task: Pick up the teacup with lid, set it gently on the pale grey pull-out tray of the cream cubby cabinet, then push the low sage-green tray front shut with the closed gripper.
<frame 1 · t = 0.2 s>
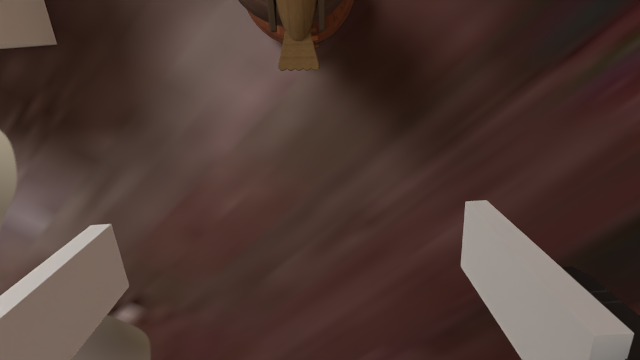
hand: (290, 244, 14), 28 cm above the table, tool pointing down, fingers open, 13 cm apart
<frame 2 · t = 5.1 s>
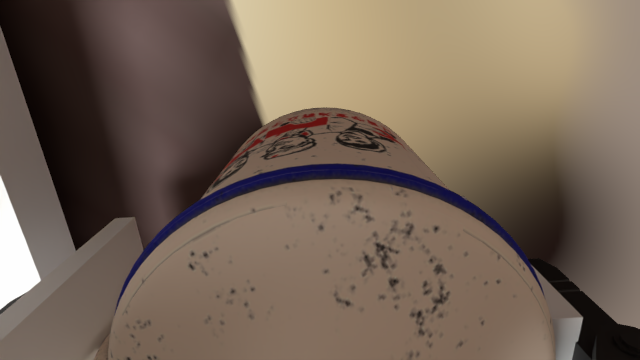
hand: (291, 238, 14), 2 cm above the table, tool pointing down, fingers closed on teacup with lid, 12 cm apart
teacup with lid: (293, 216, 16), on the table, touching gripper
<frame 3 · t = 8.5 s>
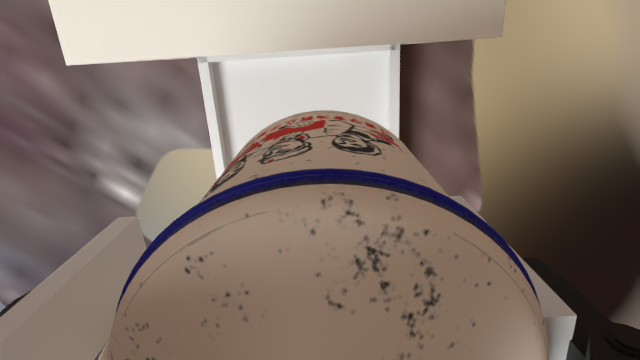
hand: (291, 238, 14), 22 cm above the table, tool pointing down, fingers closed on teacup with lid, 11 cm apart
tray: (308, 187, 33), point 4 cm above the table, slide at 14.0 cm
teacup with lid: (294, 217, 16), point 20 cm above the table, touching gripper
when the fingers open (5 cm above the table, at t = 12.4 s): teacup with lid drops 1 cm, resting on tray.
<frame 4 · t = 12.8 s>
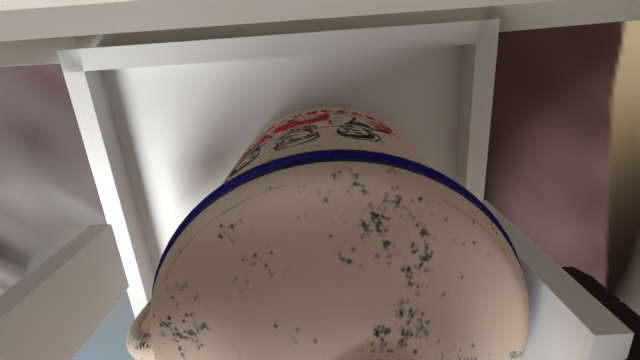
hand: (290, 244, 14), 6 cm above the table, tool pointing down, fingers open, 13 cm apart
tray: (302, 311, 17), point 4 cm above the table, slide at 14.0 cm, touching teacup with lid
teacup with lid: (300, 207, 17), point 2 cm above the table, touching tray
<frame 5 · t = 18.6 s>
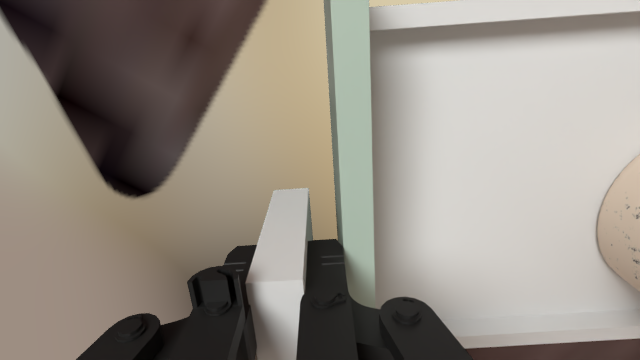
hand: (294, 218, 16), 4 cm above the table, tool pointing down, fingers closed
tray: (620, 200, 15), point 4 cm above the table, slide at 13.2 cm, touching gripper, teacup with lid
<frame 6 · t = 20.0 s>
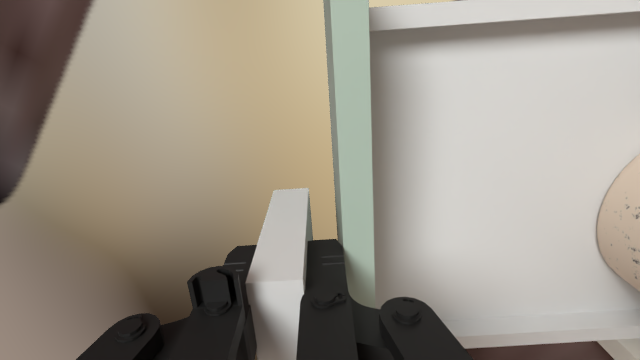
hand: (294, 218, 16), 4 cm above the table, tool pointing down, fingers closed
tray: (620, 200, 15), point 4 cm above the table, slide at 5.1 cm, touching gripper, teacup with lid
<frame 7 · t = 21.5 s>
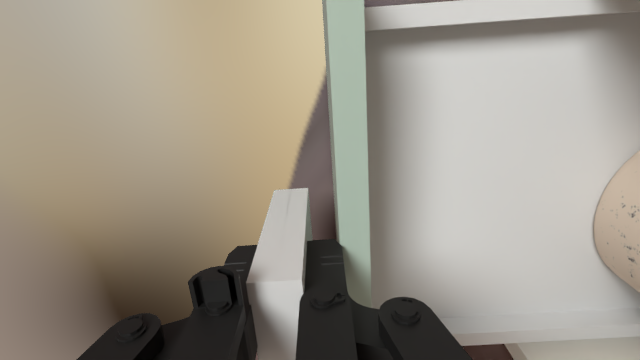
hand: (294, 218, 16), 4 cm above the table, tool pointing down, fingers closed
tray: (616, 199, 16), point 4 cm above the table, slide at 0.0 cm, touching gripper, teacup with lid
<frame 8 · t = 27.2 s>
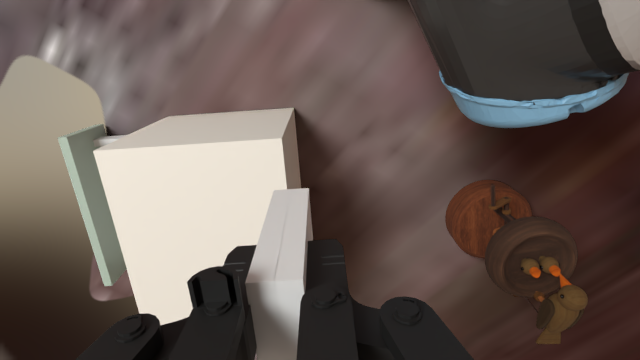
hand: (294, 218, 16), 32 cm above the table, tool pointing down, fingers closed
housing: (242, 185, 50), on the table
tray: (192, 199, 46), point 4 cm above the table, slide at 0.0 cm, touching teacup with lid
bird nest figurine: (480, 209, 52), on the table
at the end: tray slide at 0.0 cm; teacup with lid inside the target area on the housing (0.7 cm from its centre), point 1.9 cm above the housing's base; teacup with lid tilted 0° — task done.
